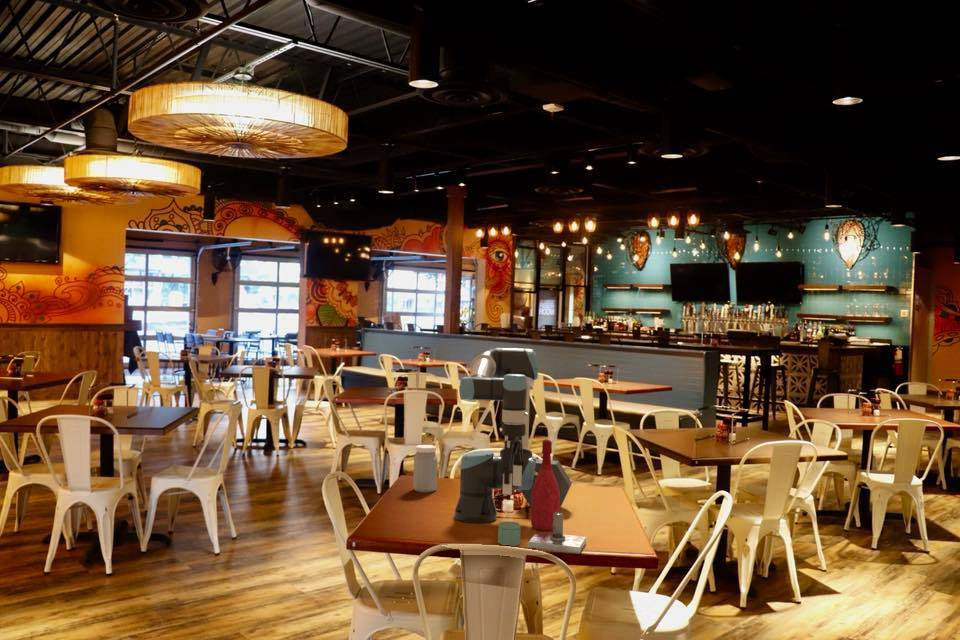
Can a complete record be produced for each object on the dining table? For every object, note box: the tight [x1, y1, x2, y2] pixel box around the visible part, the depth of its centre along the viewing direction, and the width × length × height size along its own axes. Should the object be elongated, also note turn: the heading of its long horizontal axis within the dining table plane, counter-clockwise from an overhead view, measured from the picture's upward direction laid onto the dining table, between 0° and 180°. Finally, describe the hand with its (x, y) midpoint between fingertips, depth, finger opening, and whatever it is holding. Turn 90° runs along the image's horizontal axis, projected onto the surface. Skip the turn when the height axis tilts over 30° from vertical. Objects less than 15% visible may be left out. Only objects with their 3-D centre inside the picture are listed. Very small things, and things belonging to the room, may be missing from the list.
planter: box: [519, 458, 573, 508], centre depth 298 cm, size 17×8×21 cm
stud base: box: [528, 512, 587, 554], centre depth 249 cm, size 16×12×10 cm
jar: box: [412, 444, 438, 493], centre depth 322 cm, size 10×10×18 cm
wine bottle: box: [530, 439, 561, 531], centre depth 269 cm, size 10×10×30 cm
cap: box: [497, 521, 521, 547], centre depth 250 cm, size 7×7×6 cm
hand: (512, 489), depth 250 cm, fingers open, 13 cm apart
